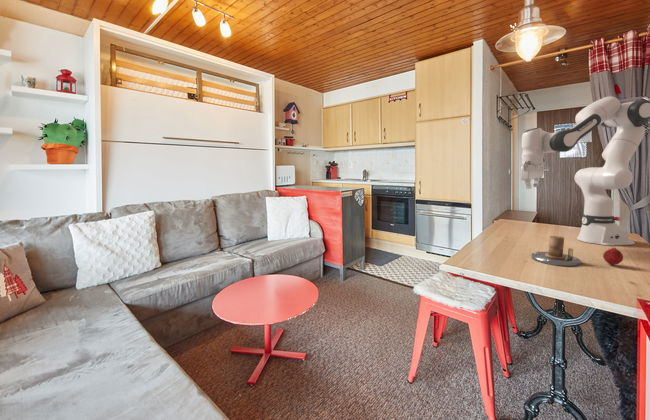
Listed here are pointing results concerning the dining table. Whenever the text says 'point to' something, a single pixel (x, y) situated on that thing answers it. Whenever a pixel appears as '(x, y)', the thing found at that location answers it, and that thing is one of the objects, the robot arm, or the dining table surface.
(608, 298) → the dining table surface
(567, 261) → the flange plate
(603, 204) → the robot arm
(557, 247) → the bushing
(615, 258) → the onion
